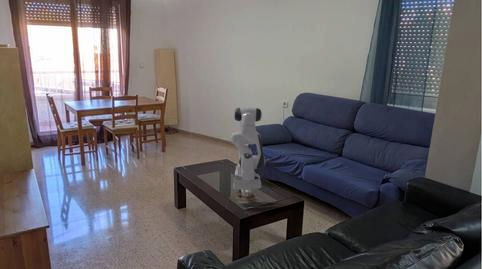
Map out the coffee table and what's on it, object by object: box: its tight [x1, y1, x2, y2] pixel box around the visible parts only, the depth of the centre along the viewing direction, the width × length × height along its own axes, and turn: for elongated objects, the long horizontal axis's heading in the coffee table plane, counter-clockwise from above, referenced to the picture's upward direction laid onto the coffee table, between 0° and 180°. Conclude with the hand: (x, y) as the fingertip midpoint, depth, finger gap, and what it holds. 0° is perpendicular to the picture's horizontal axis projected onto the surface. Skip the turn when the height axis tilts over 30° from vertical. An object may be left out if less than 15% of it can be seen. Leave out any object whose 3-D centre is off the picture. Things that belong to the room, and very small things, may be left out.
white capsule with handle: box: [241, 189, 250, 198], centre depth 248 cm, size 10×6×7 cm, turn 10°
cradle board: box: [232, 189, 260, 204], centre depth 249 cm, size 22×16×3 cm
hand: (247, 194), depth 243 cm, fingers closed on white capsule with handle
